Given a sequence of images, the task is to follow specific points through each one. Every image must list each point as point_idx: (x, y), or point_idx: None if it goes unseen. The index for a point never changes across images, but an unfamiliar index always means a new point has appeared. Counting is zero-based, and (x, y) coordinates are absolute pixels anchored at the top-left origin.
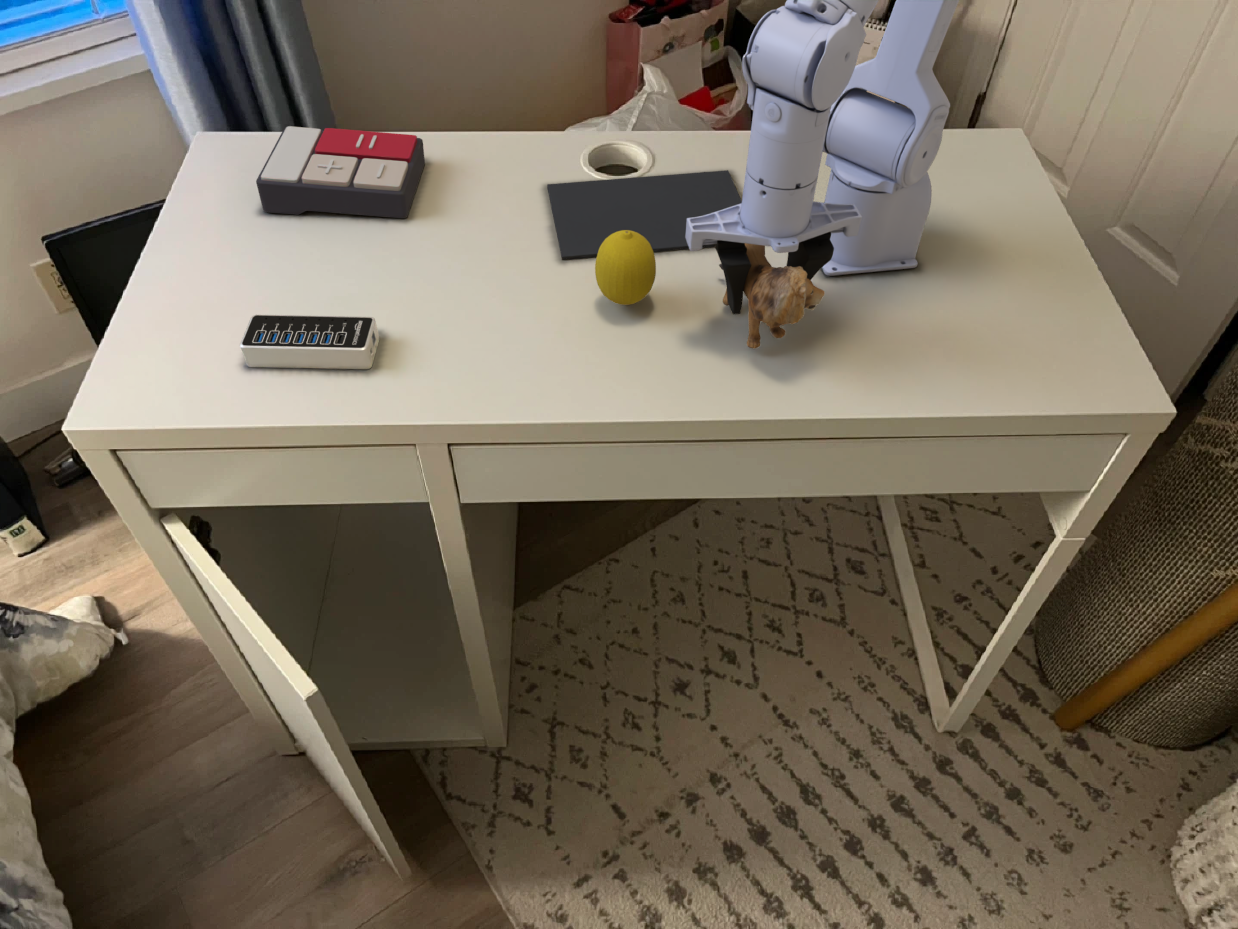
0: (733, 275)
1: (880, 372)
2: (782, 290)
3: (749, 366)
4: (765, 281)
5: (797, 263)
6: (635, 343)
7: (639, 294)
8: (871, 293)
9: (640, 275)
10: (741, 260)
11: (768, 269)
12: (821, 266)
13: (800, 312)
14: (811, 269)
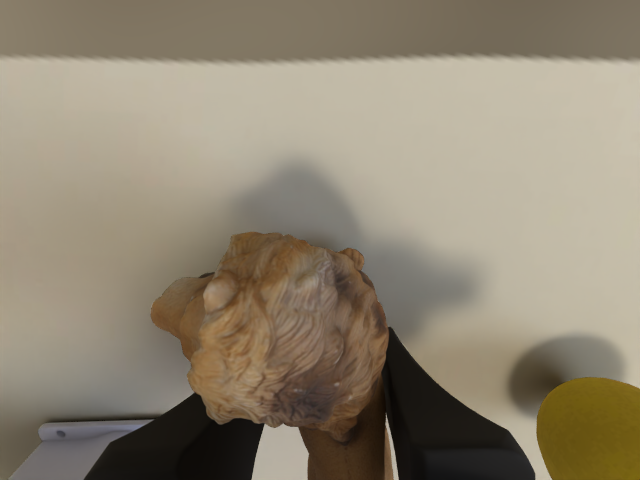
0: (450, 409)
1: (104, 181)
2: (305, 306)
3: (362, 211)
4: (359, 366)
5: (230, 440)
6: (578, 287)
7: (593, 393)
8: (117, 376)
9: (635, 440)
10: (451, 468)
11: (337, 420)
12: (153, 422)
13: (243, 237)
14: (188, 414)
